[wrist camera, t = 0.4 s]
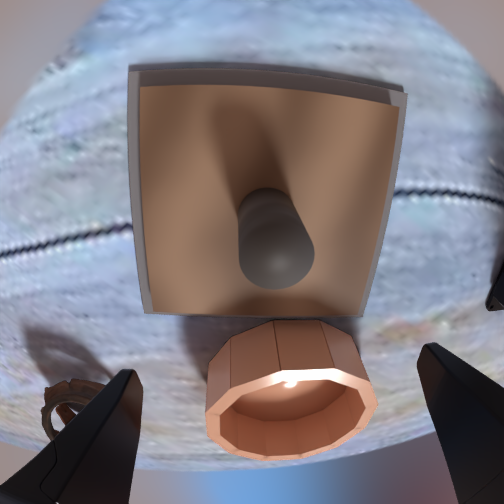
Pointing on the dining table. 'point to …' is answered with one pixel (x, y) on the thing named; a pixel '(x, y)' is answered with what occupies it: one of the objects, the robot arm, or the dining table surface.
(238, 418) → the terracotta bowl
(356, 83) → the felt mat
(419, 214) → the dining table surface
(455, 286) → the dining table surface
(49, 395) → the brown curved piece
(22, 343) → the dining table surface
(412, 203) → the dining table surface
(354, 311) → the walnut lid
